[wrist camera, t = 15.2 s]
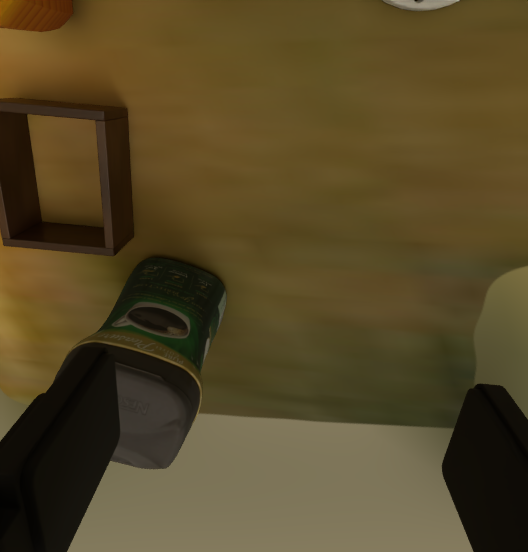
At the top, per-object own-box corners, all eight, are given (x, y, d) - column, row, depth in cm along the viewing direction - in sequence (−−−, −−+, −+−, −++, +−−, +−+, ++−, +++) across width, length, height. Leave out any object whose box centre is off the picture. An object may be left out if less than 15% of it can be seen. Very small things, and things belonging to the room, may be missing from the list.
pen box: (16, 97, 35) (-25, 99, 30) (127, 107, 35) (103, 110, 30) (35, 228, 40) (3, 246, 35) (134, 237, 40) (114, 256, 35)
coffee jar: (124, 313, 43) (20, 459, 26) (141, 245, 40) (34, 360, 23) (214, 341, 44) (169, 500, 27) (237, 277, 41) (203, 411, 24)
